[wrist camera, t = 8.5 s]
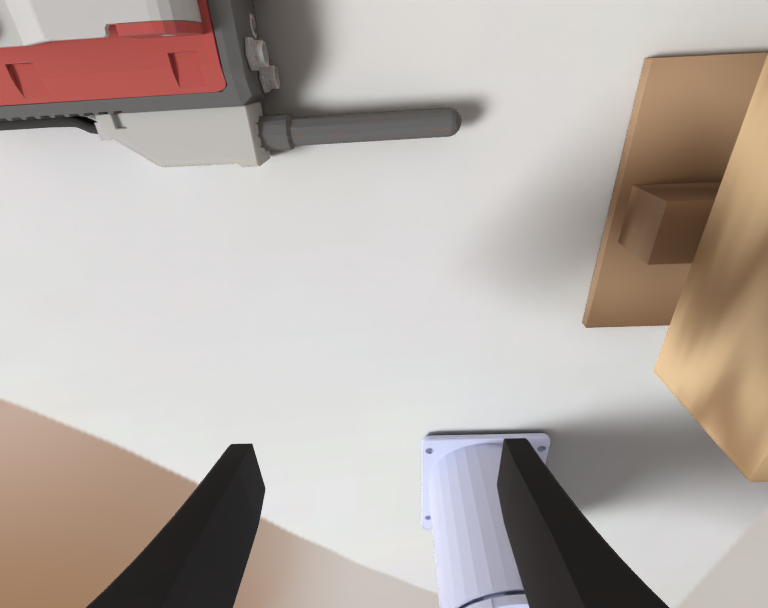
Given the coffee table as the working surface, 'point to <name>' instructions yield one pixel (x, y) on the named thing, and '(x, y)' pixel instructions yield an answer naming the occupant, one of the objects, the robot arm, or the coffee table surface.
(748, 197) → the oak bar
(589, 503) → the coffee table surface
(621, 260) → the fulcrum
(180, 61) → the walkie-talkie
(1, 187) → the coffee table surface
